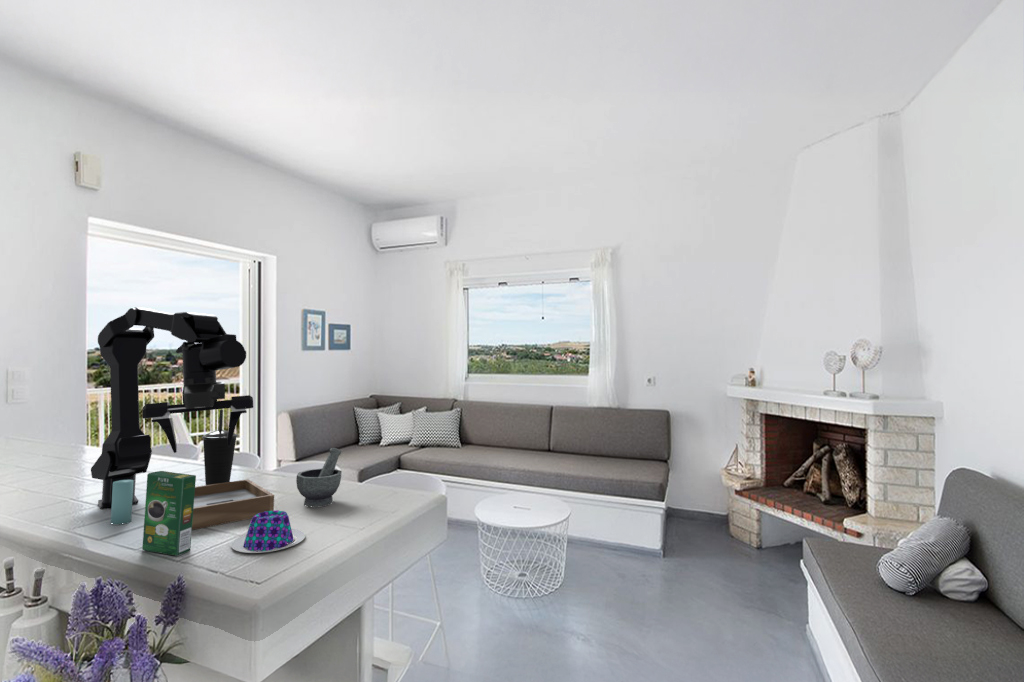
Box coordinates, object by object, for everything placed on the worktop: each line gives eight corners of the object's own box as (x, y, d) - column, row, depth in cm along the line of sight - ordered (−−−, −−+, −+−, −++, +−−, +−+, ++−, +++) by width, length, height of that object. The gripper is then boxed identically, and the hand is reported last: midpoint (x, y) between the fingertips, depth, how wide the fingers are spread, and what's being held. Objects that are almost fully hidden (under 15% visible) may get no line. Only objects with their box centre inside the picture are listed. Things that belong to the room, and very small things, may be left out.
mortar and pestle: (318, 511, 104) (320, 456, 105) (285, 506, 107) (288, 452, 108) (353, 498, 114) (355, 448, 115) (322, 493, 118) (324, 444, 118)
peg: (109, 521, 95) (112, 481, 95) (130, 518, 97) (132, 478, 98) (111, 526, 93) (113, 484, 93) (132, 522, 95) (134, 481, 95)
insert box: (166, 509, 103) (167, 490, 104) (247, 496, 115) (248, 479, 115) (184, 531, 91) (185, 510, 91) (273, 514, 102) (274, 495, 102)
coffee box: (193, 550, 82) (197, 473, 82) (177, 557, 79) (182, 477, 79) (157, 545, 84) (161, 469, 84) (140, 551, 81) (145, 473, 82)
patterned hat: (315, 532, 92) (316, 504, 93) (288, 557, 80) (289, 526, 81) (252, 531, 92) (253, 504, 92) (215, 557, 80) (217, 525, 80)
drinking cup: (223, 495, 115) (227, 411, 116) (191, 494, 115) (196, 411, 116) (241, 486, 123) (245, 408, 124) (212, 486, 123) (216, 408, 124)
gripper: (137, 373, 87) (139, 459, 86) (252, 366, 97) (256, 444, 96) (145, 377, 97) (147, 455, 95) (250, 371, 106) (253, 441, 105)
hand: (202, 449), depth 97 cm, fingers open, 9 cm apart
